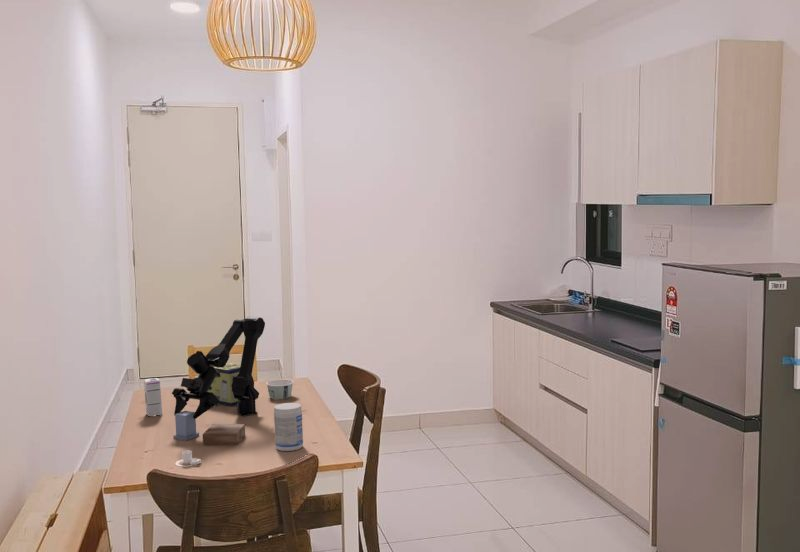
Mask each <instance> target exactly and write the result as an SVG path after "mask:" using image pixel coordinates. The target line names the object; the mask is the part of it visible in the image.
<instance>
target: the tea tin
mask: <svg viewBox="0 0 800 552" xmlns="http://www.w3.org/2000/svg"><path fill="white" fill-rule="evenodd" d="M195 412H196V411H190V410H184V411H183V410H182V411H181V412H180V413H177V414H175V415H174V419H175V434H173V435H172V436H173V437H172V438H173V439H174V440H180V441H185V442H187V441H190V440H192V439H195V438H198V437H200V432H197V421H196V419H197V418H196V419H194V418H193V416H194V414H195Z"/></svg>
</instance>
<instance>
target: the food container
mask: <svg viewBox="0 0 800 552" xmlns="http://www.w3.org/2000/svg"><path fill="white" fill-rule="evenodd" d="M265 385H267V392H268V395H269V396H268V397H269V399H270V398H272V399H271V400H274V399H282V400H285V399H284V398H288V397H290V396H292V391H293V385H294V380H292V379H286V378H285V379H283V378H282V379H281V378H280V379H279V378H278V379H273V380H269V381H267V382H266V383H265ZM290 398H291V397H290ZM288 399H289V398H288Z"/></svg>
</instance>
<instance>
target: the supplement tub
mask: <svg viewBox="0 0 800 552" xmlns="http://www.w3.org/2000/svg"><path fill="white" fill-rule="evenodd" d="M273 417H274V418H273V422H274V437H275V438H274V442H275V444H274V447H275V448H276V450H278V451H281V452H292V451H297V450H300V449H302V447H303V446H304V437H303V436H304V432H303V409H302V404H300V403H297V402H283V403H279V404H278V403H277V404H276V405H274V407H273Z"/></svg>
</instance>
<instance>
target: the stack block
mask: <svg viewBox="0 0 800 552" xmlns="http://www.w3.org/2000/svg"><path fill="white" fill-rule="evenodd" d="M245 436H246V424H245V423H229V424H227V423H226V424H225V423H223V424H222V423H221V424H217V423H216V424H213V423H212V424H211V425H210V426H209V427H208V428H207V429H206V430H205V431H204V432H203V433H202V446H238V444H239V443H240V442H241V441H242V440H243V438H244V437H245Z"/></svg>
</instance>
